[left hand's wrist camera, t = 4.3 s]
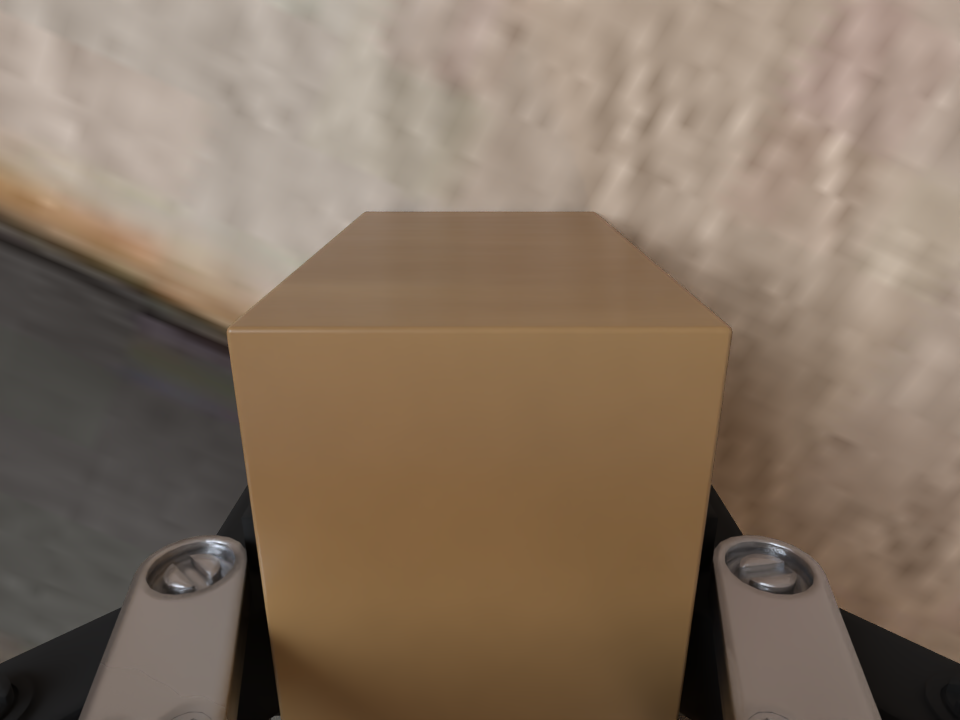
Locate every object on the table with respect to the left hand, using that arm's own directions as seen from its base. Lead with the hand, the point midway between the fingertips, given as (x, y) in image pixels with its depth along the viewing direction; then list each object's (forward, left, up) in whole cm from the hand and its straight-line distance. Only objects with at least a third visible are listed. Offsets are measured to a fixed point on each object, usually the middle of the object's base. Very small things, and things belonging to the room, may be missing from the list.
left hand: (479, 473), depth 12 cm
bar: (+21, +23, -2) cm, 31 cm away
